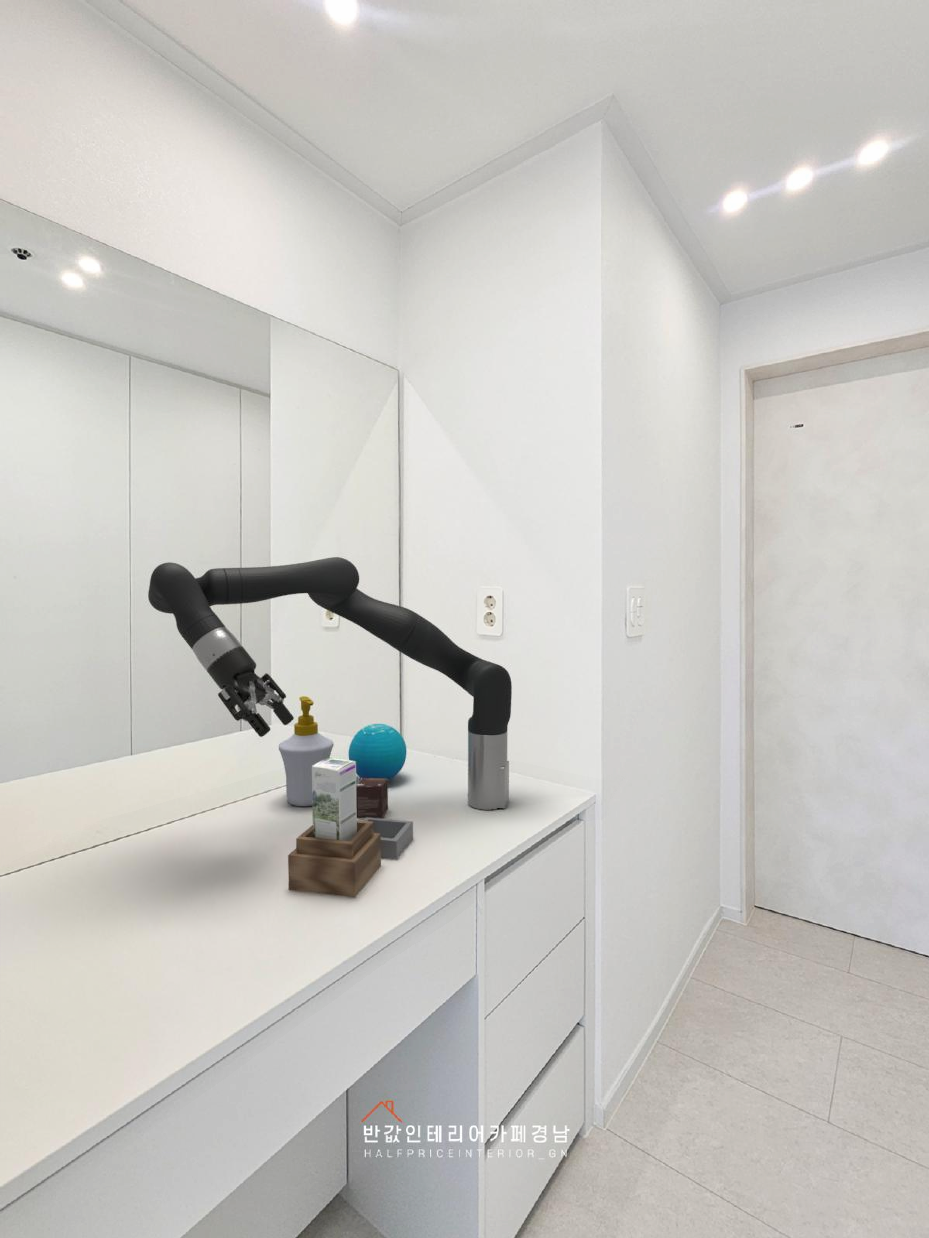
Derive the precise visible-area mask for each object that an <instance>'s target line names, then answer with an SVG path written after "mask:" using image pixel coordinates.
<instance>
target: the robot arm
mask: <svg viewBox="0 0 929 1238" xmlns="http://www.w3.org/2000/svg"><path fill="white" fill-rule="evenodd" d="M149 579H150V581H149V586H148V593H147V597H148V602H149V603H150V605H151V606H152V608H154V609H155V610H157V611H158V612H161V613H164V614H171V615H173V616H174V619H175V622H176V628H177V631H178V632H179V635H180V636H181V637H182V638H183V640H184V641H185V642H186V644H187V645H188V646H189V647H190V649H191V650H192V652H193V653H194V655H195V657H196V659H197V660H198V662H199V663H200V664H201V666H202V667H203V668H204V670H205V671H206V673H208V675H209V676H210V678H211V679H212V680H213V681H214V683H215V684H216V686H217V687H218V688H219V689H220V690H221V691H219V692H218V693H217V695H218V697H219V699H220V700H221V702H222V703H223V705H224V706H225V707H226V710H228V712H229V713H230V714H231V716H232V718H234V720H236V721H237V722H239V721H240V720H243V721H244V722H247V723H248V724H249V725H250V726H251V728H252V729H253V730H254V731H255V733H256V734H257V735H258V736H259V737H260V738H263V737H264V736H266V735H267V734H269V732H270V731H271V727H270V726H269V724H268V723H267V722H266V721H265V719H264V718H263V716H262V715H261V714H260V713H259V712H258V710H257V706H256V705H260V706H266V707H268V708H270V709H271V710H272V712H273V713H274V714H275V715H276V717H277V718H278V719H279V721H280V722H281V724H282V725H284V726H288V725H289V724H290V723H291V722H292V721H293V720H294V717H295V716H293V714H292V713H291V711H290V710H289V709H288V707H286V705H285V704H284V700H285V699H286V698H287V695H286V693H285V692H284V691H283V690H282V689H281V687H280V686H279V685H278V683H277V682H276V681H275V680H274V679H273V678H272V676H271V675H270V674H269V673H264V675H262V676H261V677H260V676H258V674H256V673H255V670H256V668H257V663H256V662H255V660H254V659H253V658H252V656H251V654H249V653H248V651H247V650H246V649H245V648H244V646H243V645H242V643H241V642H240V641H239V640H238V638H237V637H236V636H235V635H234V633H232V632H231V631H230V629H228V627H226V625H225V624H224V623H223V622H222V620H221V619H220V617H219V616H218V615H217V614H216V613H215V612H214V611H213V610H212V606H216V605H218V606H219V605H221V606H223V605H238V604H239V605H240V604H241V605H242V604H251V603H258V602H263V601H267V600H272V599H276V598H279V597H285V596H290V595H291V596H292V595H299V594H307V595H308V597H309V598H310V599H311V600H312V601H313V602H314V603H315V604H316V605H317V606H319V607H321V608H323V609H325V610H327V611H329V612H331V613H333V614H335V615H336V616H339V617H341V618H343V619H345V620H347V621H349V622H352V623H353V624H355V625H357V626H359V627H360V628H362V629H363V630H365V631H367V632H368V633H370V634H372V635H373V636H374V637H376V638H378V639H379V640H381V641H383V642H384V643H386V644H388V645H389V646H390V647H392V648H393V649H395V650H397V651H398V652H399V653H402V654H403V655H404V656H406V657H408V658H409V659H412V660H413V661H416V662H417V663H419V664H421V665H424V666H426V667H427V668H430V669H433V670H434V671H437V672H438V673H440V674H443V675H445V676H446V677H447V678H448V679H450V680H451V681H453V682H454V683H455V684H456V685H458V686H459V687H461V688H462V689H463V690H464V691H465V692H466V693H468V694H469V695H470V696H471V697H473V705H472V706H473V707H472V716H471V717H469V718H468V720H467V804H468V805H469V806H470V807H471V808H474V809H476V810H477V809H478V810H485V811H487V810H488V811H491V810H492V809H493V810H498V809H497V808H505V809H506V807H507V805H508V803H509V801H508V800H510V784H509V783H510V762H509V760H508V729H509V728H508V725H509V723H510V720H511V717H512V716H511V715H512V689H513V688H512V686H513V685H512V680H511V675H510V673H509V671H508V670H507V669H506V668H505V667H504V666H502V665H500V664H498V663H495V662H491V661H488V660H485V659H482V658H481V657H479V656H477V655H475V654H472V653H471V652H468V651H466V650H465V649H463V648H462V647H460V646H458V645H457V644H456V643H455V642H454V641H453V640H452V639H451V638H449V637H448V635H447V634H445V633H444V632H443V631H442V630H441V629H440V628H439V627H438V626H436V625H435V624H433V623H432V622H431V621H429V620H428V619H426V618H425V617H423V616H421V615H420V614H418V613H417V612H415V611H413V610H411V609H409V608H407V607H404V606H401V605H397V604H394V603H389V602H385V601H381V600H379V599H376V598H373V597H372V596H369V595H368V594H365V593H364V592H363V591H361V590H360V589H358V586H359V583H360V574H359V571H358V569H357V567H356V566H355V565H354V564H353V563H352V562H351V561H350V560H348V559H346V558H343V557H339V556H333V557H332V556H331V557H325V558H322V559H317V560H311V561H307V562H306V561H305V562H300V563H292V564H291V563H290V564H285V565H284V564H283V565H270V566H257V567H255V566H253V567H221V568H219V567H218V568H211V569H209V570H207V571H206V572H205V573H204V574H203V575H201V576H200V577H195V576H194V575H193V574H192V572H191V571H189V569H187V568H186V566H183V565H181V564H178V563H177V562H164V563H160V564H159V565H157V566H156V567H155V568H154V569H153V570H152V573H151V575H150V578H149ZM236 706H237V709H236ZM507 802H508V803H507ZM506 804H507V805H506Z"/></svg>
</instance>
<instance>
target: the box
mask: <svg viewBox="0 0 929 1238" xmlns="http://www.w3.org/2000/svg"><path fill="white" fill-rule="evenodd" d="M388 781H389V780H387V778H361V779H360V780H359V782H358V783H356V809H357V819H365V818H366V817H369V818H381V819H384V817H385V814H386V813H387V811H388V810H389V794H388V793H389V791H388V790H389V789H388V787H389V783H388Z"/></svg>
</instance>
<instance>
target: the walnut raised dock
mask: <svg viewBox="0 0 929 1238" xmlns="http://www.w3.org/2000/svg"><path fill="white" fill-rule="evenodd" d="M381 838H382V837H381V833H374V828H373V822H372V821H363V820H358V819H357V833H356V834H355V835H354V836H353V837H352V838H351V839H350V840H349V841H341V840H331V839H321V838H313V824H312V825H311V826H310V827H308V829H306V830H305V831H304V832H302V833H301V834H300V835H298V837H296V838H295V843H296V844H295V845H296V846H295V849H293V850H291V852H290V853H288V855H287V860H288V861H287V862H288V863H287V869H288V890H290V891H296V892H306V893H313V894H321V895H322V894H323V895H330V896H337V897H338V896H339V897H347V898H354V899H355V898H356V897H357V896H358V895H359V894H360V892H361V891H362V890H363V889H364V887H365V886H367V884H368V882H369V881H370V880H371V879H372V877H373V876H374V875H375V874H376V873H377V871H378V870H379V869H380V868H381V866H382V858H381Z"/></svg>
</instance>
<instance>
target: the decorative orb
mask: <svg viewBox="0 0 929 1238" xmlns="http://www.w3.org/2000/svg"><path fill="white" fill-rule="evenodd" d="M348 747H349V749H348V760H350V761H356V776H358V777H360V778H361V779H362V778H387V780H388V781H390V780H391V779H393V778H394V777H395V776H397V775H398V774H399V773H400V772H401V771H402V769H403V767H404V766H405V763H406V759H407V745H406V742H405V739H404V737H403V736H402V734H401V733H400V732H399V731H398V730H397V729H396V728H394V727H393V726H390V725H388V724H385V723H372V724H368V725H367V726H363V727H362V728H360V730H358V731H357V733H355V735H353V738H352V739H351V742H350V744H349V746H348Z"/></svg>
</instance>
